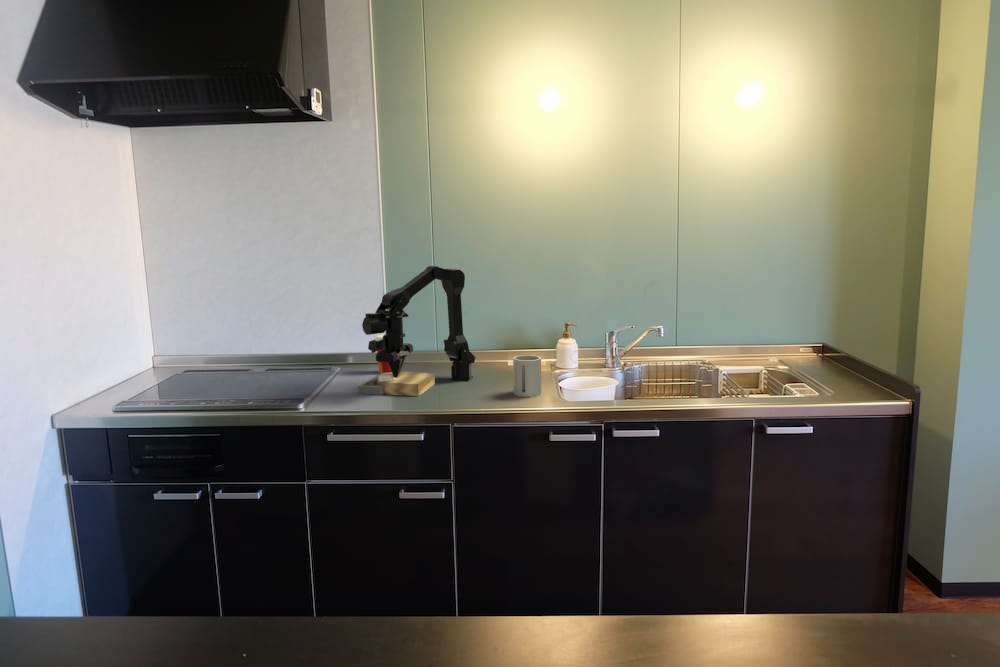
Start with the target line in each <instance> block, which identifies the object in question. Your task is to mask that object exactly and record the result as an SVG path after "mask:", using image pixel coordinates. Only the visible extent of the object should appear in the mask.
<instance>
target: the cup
mask: <svg viewBox="0 0 1000 667" xmlns="http://www.w3.org/2000/svg"><path fill="white" fill-rule="evenodd" d="M512 364H513V366H512V370H513V373H512V374H513V375H512V376H513V377H512V378H513V379H512V380H513V382H512V385H513V386H512V387H513V388H512V389H513V390H512V391H513V392H512V393H514V394H515V395H514V394H513V395H514V396H516V395H518V396H517V397H520V396H526V397H525V398H528V397H527V396H535V397H538V396H537V395H539V396H540V394H542V357H541V356H538V355H531V354H530V355H529V354H526V355H525V354H524V355H522V354H521V355H516V356H513V359H512ZM522 390H525V391H522Z"/></svg>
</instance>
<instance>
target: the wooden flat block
mask: <svg viewBox="0 0 1000 667" xmlns="http://www.w3.org/2000/svg"><path fill="white" fill-rule="evenodd" d="M435 376H436V375H435V372H419V371H418V372H415V371H400V373H399V375H398V377H397V378H396V379H394V380H393V381H385V382H384V395H393V396H394V395H395V396H396V395H397V396H411V397H413V396H414V397H420V396H421V395H422V394H423V393H425V392H426V391H427V390H429V389H431V388H432V387H433V386H434V385H435V379H436V378H435Z"/></svg>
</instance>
